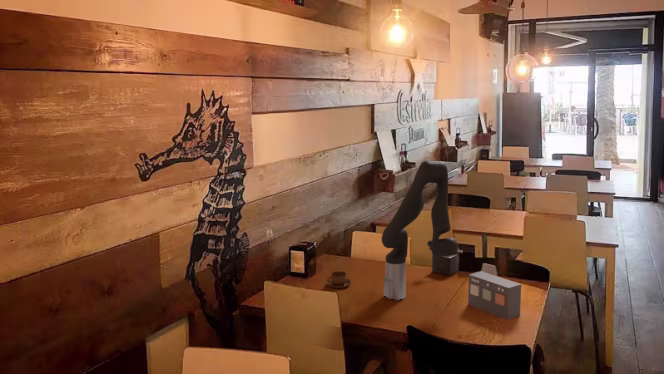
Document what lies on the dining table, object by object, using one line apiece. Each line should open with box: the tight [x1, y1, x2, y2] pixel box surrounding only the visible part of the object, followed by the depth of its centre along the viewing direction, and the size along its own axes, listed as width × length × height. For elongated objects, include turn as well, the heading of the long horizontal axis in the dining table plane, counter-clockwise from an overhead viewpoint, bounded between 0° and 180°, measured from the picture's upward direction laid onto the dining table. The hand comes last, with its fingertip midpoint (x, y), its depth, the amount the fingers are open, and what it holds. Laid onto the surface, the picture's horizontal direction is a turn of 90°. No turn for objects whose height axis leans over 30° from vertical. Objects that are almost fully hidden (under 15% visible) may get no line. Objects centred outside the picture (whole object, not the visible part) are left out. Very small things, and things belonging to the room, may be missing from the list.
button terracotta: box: [495, 292, 506, 306], centre depth 253 cm, size 4×4×4 cm
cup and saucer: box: [326, 270, 352, 289], centre depth 295 cm, size 12×12×6 cm
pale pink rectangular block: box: [480, 262, 498, 276], centre depth 294 cm, size 4×7×10 cm, turn 46°
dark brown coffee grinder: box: [426, 239, 460, 276], centre depth 311 cm, size 16×11×18 cm
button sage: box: [483, 288, 492, 301], centre depth 259 cm, size 4×4×4 cm
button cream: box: [470, 284, 480, 296], centre depth 264 cm, size 4×4×4 cm
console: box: [467, 270, 522, 321], centre depth 260 cm, size 22×8×14 cm, turn 35°
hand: (449, 249), depth 271 cm, fingers closed
